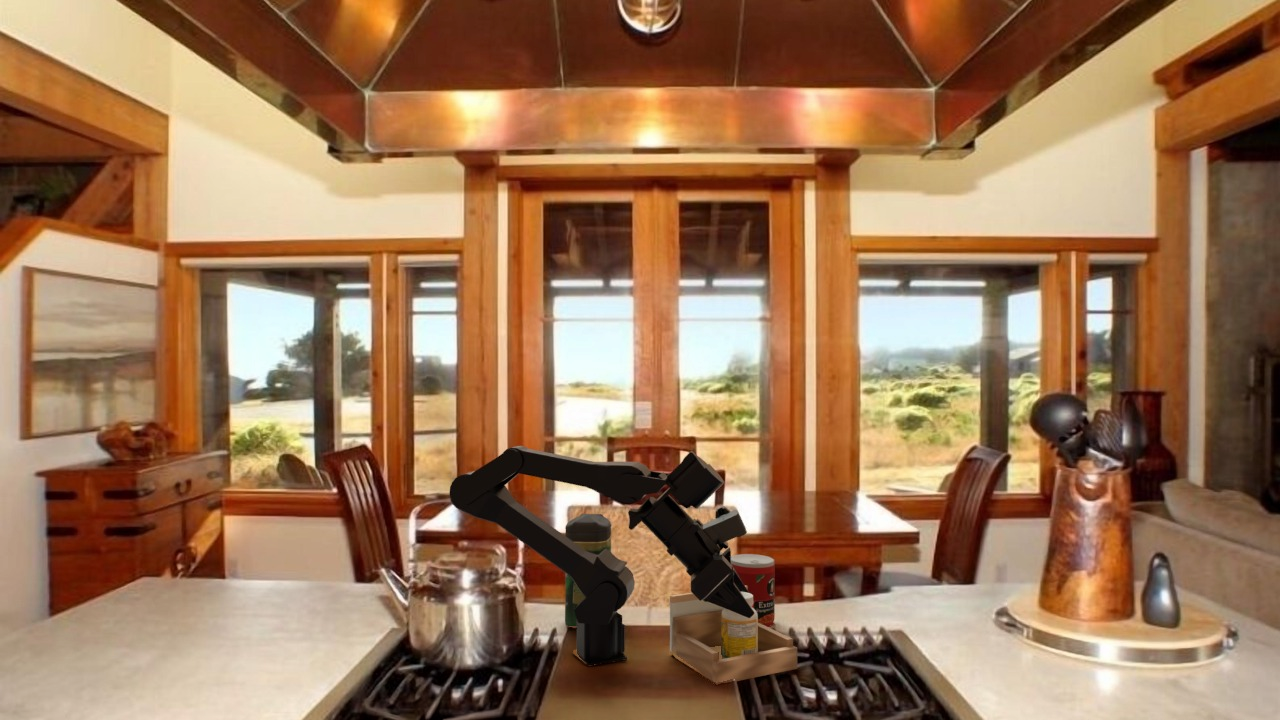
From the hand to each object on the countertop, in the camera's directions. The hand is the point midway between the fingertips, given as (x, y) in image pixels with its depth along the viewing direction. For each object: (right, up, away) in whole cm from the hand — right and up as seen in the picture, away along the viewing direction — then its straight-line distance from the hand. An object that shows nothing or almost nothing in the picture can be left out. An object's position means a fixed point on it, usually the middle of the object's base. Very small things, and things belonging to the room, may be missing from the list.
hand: (750, 606), depth 112 cm
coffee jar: (-25, -9, +19) cm, 33 cm away
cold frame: (-2, -9, 0) cm, 9 cm away
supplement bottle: (-2, -8, 0) cm, 8 cm away
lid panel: (-5, -9, +6) cm, 12 cm away
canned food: (+3, -10, +20) cm, 23 cm away
